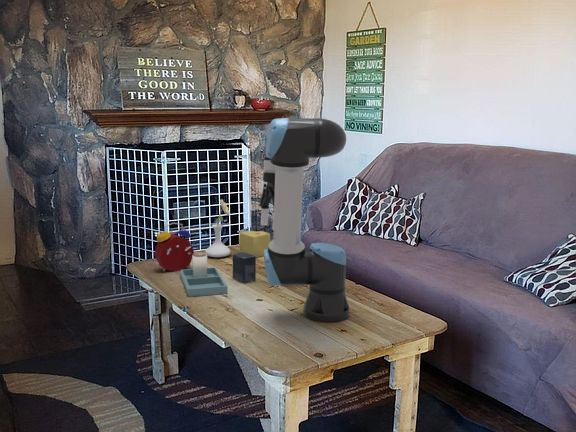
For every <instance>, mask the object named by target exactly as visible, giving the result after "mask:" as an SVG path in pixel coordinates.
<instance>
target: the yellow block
mask: <svg viewBox="0 0 576 432" xmlns="http://www.w3.org/2000/svg"><path fill="white" fill-rule="evenodd" d="M270 242H271V233H268V232H266V231H263V230H260V231H255V230H248V231H240V232H239V234H238V245H239V251H240V252H239V253H241V252H245V253H248V254H251V255H254V256H256V258H260V257H264V250H266V249H268V246H269V243H270Z"/></svg>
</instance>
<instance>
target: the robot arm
mask: <svg viewBox="0 0 576 432" xmlns="http://www.w3.org/2000/svg"><path fill="white" fill-rule="evenodd" d="M264 142H265V143H264V160H263V171H264V172H263V174H262V182H264V183H263V189H262V193H261V197H260V202H259V207H260V208H261V210H260V211H261V213H260V226H269V212H270V211H269V210H270V203H271V201H272V205H273V211H272V213H273V214H272V215H273V216H272V226H271V227H272V229H271V230H273V237H272V238H273V239H272V240H270V243H269V246H268V249H266V250H264V256H263V258H264V259H263V260H264V267H265V268H264V269H265V275H266V280H267V282H268V284H269V285H271V286H280V287H284V286H306V285H307V286H309V291H308V294H307V297H306V300H305V302H304V305H303V315H304V316H305V317H306V318H308V319H310V320H312V321H315V322H316V321H317V322H321V323H322V322H323V323H337V322H341V321H345V320H346V319H348V318H349V316H350V311H351V309H350V303H349V301H348V297H347V294H346V274H347V273H346V272H347V271H346V270H347V253H346V251H345V249H344V248H342V247H340V246H338V245H335V244H331V243H325V242H313V243H311V244H310V245H309V248H306V246H305V243H304V242H303V241H301V235H302V234H301V233H302V232H301V231H302V215H303V214H302V213H303V211H302V210H303V192H304V191H303V188H304V170H305V169H306V168H307V167H308V166H309V164H310V159H315V158H316V159H317V158H328V157H332V156H335V155H337V154H339V153H340V152H342V151H343V150H344V149H345V146H346V144H347V134H346V132H345V130H344V128H343V127H341V125H340V124H338V123H337V122H335V121H332V120H329V119H327V118H320V117H317V118H307V117H305V118H304V117H302V118H301V117H300V118H299V117H284V118H283V117H282V118H274V119H272V120H271V121H270V123H269V126H268V129H267V131H266V133H265V139H264Z"/></svg>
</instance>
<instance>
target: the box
mask: <svg viewBox="0 0 576 432" xmlns="http://www.w3.org/2000/svg"><path fill="white" fill-rule="evenodd" d="M256 262H257V257H256V256H254V255H251V254H248V253H245V252H241V253H240V252H235V253H232V279H233V280H234V281H237V282H239V283H242V284H244V285H245V284H248V283H252V282H253V283H254V282H256V281H257V280H256V275H257V274H256V273H257V272H256V271H257V270H256V269H257V267H256V266H257V263H256Z"/></svg>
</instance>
